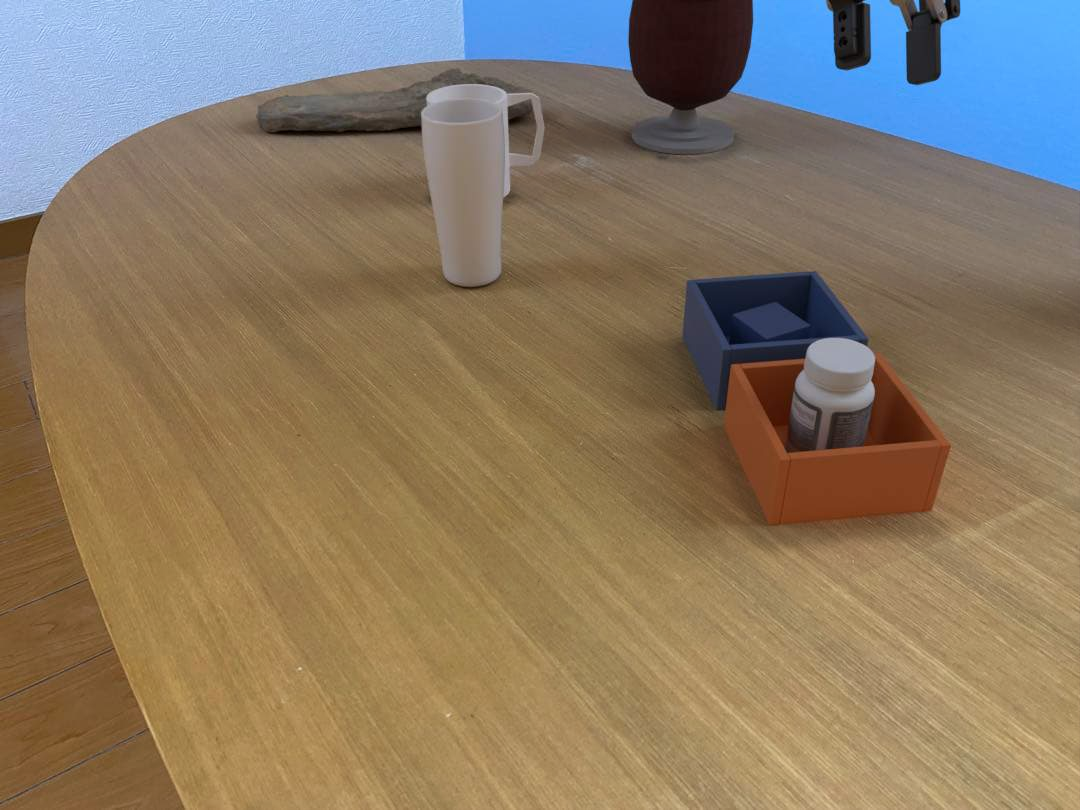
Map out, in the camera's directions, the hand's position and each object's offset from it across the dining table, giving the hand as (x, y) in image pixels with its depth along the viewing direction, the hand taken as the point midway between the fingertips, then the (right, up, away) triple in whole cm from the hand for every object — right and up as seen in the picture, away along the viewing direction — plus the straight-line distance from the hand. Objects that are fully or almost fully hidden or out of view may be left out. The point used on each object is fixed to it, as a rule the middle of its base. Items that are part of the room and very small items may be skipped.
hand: (890, 75), depth 64 cm
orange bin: (-5, -27, -2) cm, 27 cm away
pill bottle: (-6, -26, -2) cm, 27 cm away
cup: (-29, +1, +38) cm, 48 cm away
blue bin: (-7, -20, +7) cm, 22 cm away
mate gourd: (-6, +10, +50) cm, 52 cm away
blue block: (-7, -19, +7) cm, 22 cm away
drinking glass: (-30, -11, +21) cm, 38 cm away
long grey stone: (-42, +14, +56) cm, 72 cm away
